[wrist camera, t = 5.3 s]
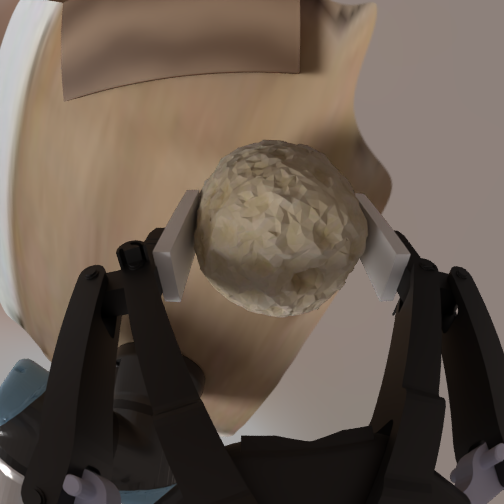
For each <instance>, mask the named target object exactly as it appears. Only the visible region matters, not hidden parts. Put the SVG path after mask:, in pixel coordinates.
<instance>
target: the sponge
mask: <svg viewBox="0 0 504 504" xmlns="http://www.w3.org/2000/svg"><path fill="white" fill-rule="evenodd" d="M355 195H356V194H355V193H354V190H353V189H352V186H351V184H350V183H349V181H348V180H347V178H346V177H344V176H343V175H341V173H340V172H339V171H338V169H337V168H336V167H335V166H334V165H333V164H332V163H331V162H330V161H329V159H328V158H327V157H326V156H325V155H324V154H323V153H320V152H318V151H317V150H315V149H313V148H311V147H310V146H307V145H303V144H298V145H295V144H291V143H287V142H284V141H277V140H262V141H261V142H259V143H253V144H250V145H247V146H243V147H240V148H237V149H236V150H234V151H233V152H231V153H230V154H228V155H226V156H225V157H223V158H222V159H221V160H220V162H219V164H218V166H217V168H216V170H215V172H214V173H213V174H212V176H211V177H210V178H208V179H207V180H205V183H204V186H203V188H202V190H201V191H200V203H199V205H200V207H199V208H198V211H197V221H196V222H197V228H196V230H195V232H194V250H195V252H196V255H197V259H198V262H199V265H200V269H201V271H202V272H203V273H204V275H205V277H206V278H207V280H208V281H209V282H210V284H211V285H212V286H213V287H214V288H215V289H216V290H217V291H218V292H219V293H221V294H222V295H223V296H224V297H226V298H227V299H228V300H230V301H231V302H233V303H235V304H237V305H238V306H242V307H244V308H245V309H246V310H248V311H251V312H254V313H258V314H264V315H268V316H275V317H287V316H289V315H292V316H295V315H299V314H303V313H307V312H310V311H313V310H317V309H319V307H320V306H321V305H322V304H323V303H324V302H326V301H327V300H328V299H329V298H330V297H331V296H332V295H333V294H334V293H335V292H336V291H338V290H340V289H341V288H342V287H343V285H344V284H345V283H346V282H345V279H347V276H348V274H349V273H351V272H352V271H353V269H354V266H355V265H356V263H357V262H358V260H359V258H360V257H361V255H362V254H363V253H364V251H365V248H366V237H367V236H368V226H367V219H366V218H365V216H364V214H363V212H362V210H361V208H360V206H359V201H358V199H357V198H356V196H355Z"/></svg>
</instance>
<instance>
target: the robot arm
mask: <svg viewBox="0 0 504 504" xmlns="http://www.w3.org/2000/svg"><path fill="white" fill-rule="evenodd" d="M355 194H356V195H355V196H356V198H357V199H358V201H359V206H360V208H361V210H362V212H363V214H364V216H365V218H366V219H367V226H368V236H367V237H366V248H365V251H364V253H363V254H362V255H361V257H360V260H361V262H362V264H363V266H364V268H365V270H366V272H367V274H368V276H369V279H370V281H371V283H372V285H373V287H374V290H375V292H376V294H377V296H378V299H379V301H392V300H393V299H394V297H395V294H396V292H398V294H399V296H400V299H399V301H398V303H397V305H396V308H395V310H394V312H393V315H395V313H396V315H395V322H394V328H393V334H392V340H391V345H390V350H389V355H388V359H387V364H386V369H385V373H384V377H383V381H382V385H381V389H380V392H379V396H378V400H377V404H376V407H375V410H374V414H373V417H372V420H371V422H370V424H369V426H366V427H360V428H354V429H348V430H342V431H339V432H337V433H334V434H331V435H329V436H326V437H323V438H320V439H317V440H315V441H302V440H295V439H290V438H285V437H279V436H241V442H238V443H233V444H230V445H227V446H224V444H223V442H222V440H221V439H220V437H219V435H218V433H217V431H216V429H215V427H214V425H213V423H212V421H211V419H210V416H209V414H208V412H207V410H206V408H205V406H204V404H203V402H202V400H201V399H200V397H201V395H202V392H203V388H204V382H205V377H204V374H203V372H202V370H201V369H200V368H199V367H198V366H197V365H196V364H195V363H193V362H192V361H191V360H189V359H188V358H186V357H184V356H182V354H181V351H180V349H179V346H178V344H177V341H176V338H175V336H174V333H173V330H172V328H171V325H170V322H169V319H168V316H167V314H166V311H165V308H164V305H163V302H162V299H161V295H162V293H163V296H164V300H165V301H170V302H181V299H182V295H183V292H184V289H185V285H186V282H187V278H188V275H189V272H190V268H191V265H192V262H193V259H194V256H195V250H194V232H195V230H196V228H197V222H196V221H197V211H198V208H199V207H200V205H199V203H200V193H199V190H187V191H186V192H185V194H184V196H183V198H182V199H181V201H180V203H179V204H178V206H177V208H176V210H175V211H174V213H173V215H172V217H171V218H170V220H169V222H168V224H167V226H166V228H156V229H154V230H153V231H152V232H150V233H149V235H148V237H147V238H146V240H145V242H142V241H137V240H134V241H129V242H126V243H124V244H122V245H121V246H120V247H119V248H118V249H117V251H116V254H117V257H118V261H119V264H120V267H121V270H119V271H114V272H109V273H106V271H105V269H104V267H103V266H100V265H94V266H90V267H87V268H86V269H84V270H83V271H82V272H81V274H80V275H79V277H78V280H77V283H76V285H75V288H74V291H73V293H72V296H71V299H70V302H69V305H68V308H67V311H66V314H65V317H64V320H63V323H62V326H61V330H60V333H59V336H58V340H57V344H56V347H55V351H54V355H53V359H52V363H51V368H50V372H49V371H47V370H46V369H44V368H43V367H41V366H40V365H38V364H37V363H35V362H34V361H32V360H30V359H21V360H19V361H18V362H17V363H16V364H15V366H14V367H13V369H12V370H11V372H10V373H9V375H8V376H7V377H6V379H5V380H4V382H3V383H2V385H1V387H0V504H121V503H122V504H487V503H488V502H489V501H491V500H492V499H493V498H494V497H495V496H496V495H498V494H499V493H500V492H501V491H502V490H504V353H503V349H502V347H501V344H500V341H499V338H498V335H497V333H496V330H495V328H494V325H493V323H492V320H491V317H490V315H489V313H488V310H487V308H486V306H485V303H484V301H483V299H482V297H481V295H480V293H479V291H478V288H477V286H476V284H475V282H474V281H473V278H472V276H471V275H470V274H469V272H467V271H466V269H463V268H462V267H457V266H456V267H455V266H454V267H452V268H451V270H450V273H449V274H446V273H443V272H438V268H437V266H436V265H435V264H434V263H432V262H431V261H429V260H427V259H423V258H420V256H419V255H418V253H417V252H416V251H415V249H414V248H413V247H412V245H411V244H410V243H409V242H408V240H407V239H406V238H405V236H404V235H402V234H401V233H400V232H399V231H393V229H392V228H391V227H390V225H389V224H388V223H387V221H386V220H385V219H384V218H383V216H382V215H381V214H380V212H379V211H378V210H377V209H376V207H375V206H374V205H373V204H372V203H371V201H370V200H369V199H368V198H367V197H366V195H365V194H362V193H355ZM457 308H458V314H456V309H457ZM126 314H128V315H129V320H130V325H131V330H132V335H133V339H134V343H128V344H124V345H121V346H120V347H118V340H119V332H120V324H121V317H122V315H126ZM441 354H442V358H443V363H444V369H445V375H446V381H447V387H448V394H449V402H450V410H451V420H452V433H453V445H454V452H455V458H456V462H457V466H456V468H455V469H454V470H453V471H452V472H451V475H450V479H451V481H452V482H453V483H455V486H454V485H453V484H452V483H450V482H449V481H448V480H446V479H445V478H444V477H442V476H441V475H440V474H439V473H437V472H436V471H435V470H434V469H435V465H436V461H437V456H438V452H439V447H440V441H441V436H442V430H443V422H444V415H445V408H446V404H445V399H444V398H442V397H439V384H440V369H441Z"/></svg>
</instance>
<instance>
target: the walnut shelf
mask: <svg viewBox="0 0 504 504" xmlns="http://www.w3.org/2000/svg"><path fill="white" fill-rule="evenodd" d="M50 1H56V2H62V3H63V11H62V29H61V65H62V84H63V96H64V101H68V100H72V99H76V98H80V97H83V96H86V95H90V94H93V93H97V92H101V91H105V90H109V89H113V88H117V87H122V86H126V85H131V84H136V83H141V82H147V81H153V80H159V79H166V78H173V77H181V76H190V75H201V74H215V73H241V72H265V73H290V74H298V73H300V0H50Z"/></svg>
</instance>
